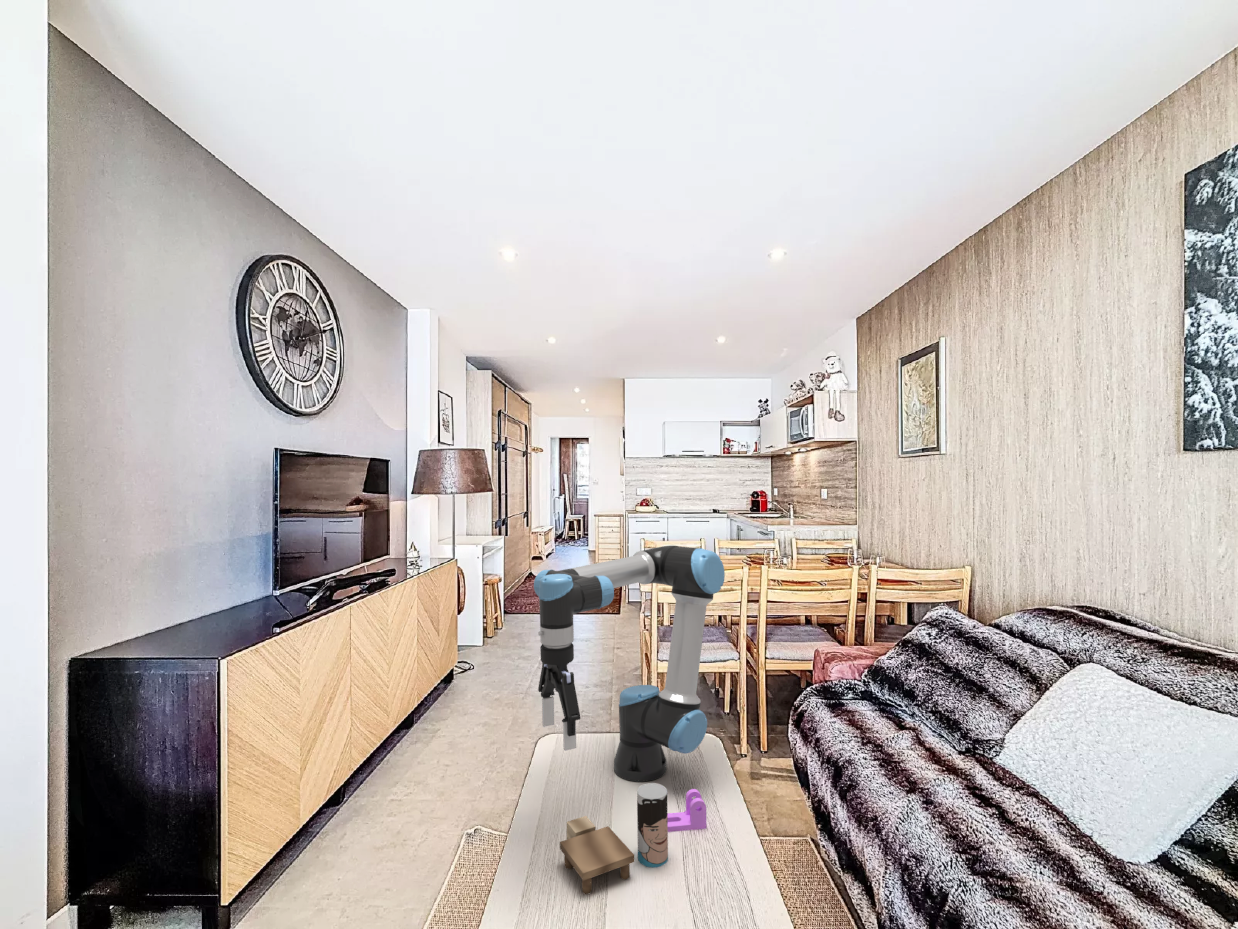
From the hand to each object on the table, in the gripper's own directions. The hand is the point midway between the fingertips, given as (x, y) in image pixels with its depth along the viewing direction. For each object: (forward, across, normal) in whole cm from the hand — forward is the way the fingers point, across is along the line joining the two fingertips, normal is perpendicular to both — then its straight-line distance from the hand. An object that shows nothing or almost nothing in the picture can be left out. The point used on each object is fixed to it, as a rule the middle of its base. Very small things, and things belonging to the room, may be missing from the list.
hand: (558, 736), depth 142 cm
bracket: (+27, +4, +29) cm, 40 cm away
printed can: (+26, +12, +17) cm, 34 cm away
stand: (+26, +10, +4) cm, 28 cm away
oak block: (+26, 0, +5) cm, 27 cm away
